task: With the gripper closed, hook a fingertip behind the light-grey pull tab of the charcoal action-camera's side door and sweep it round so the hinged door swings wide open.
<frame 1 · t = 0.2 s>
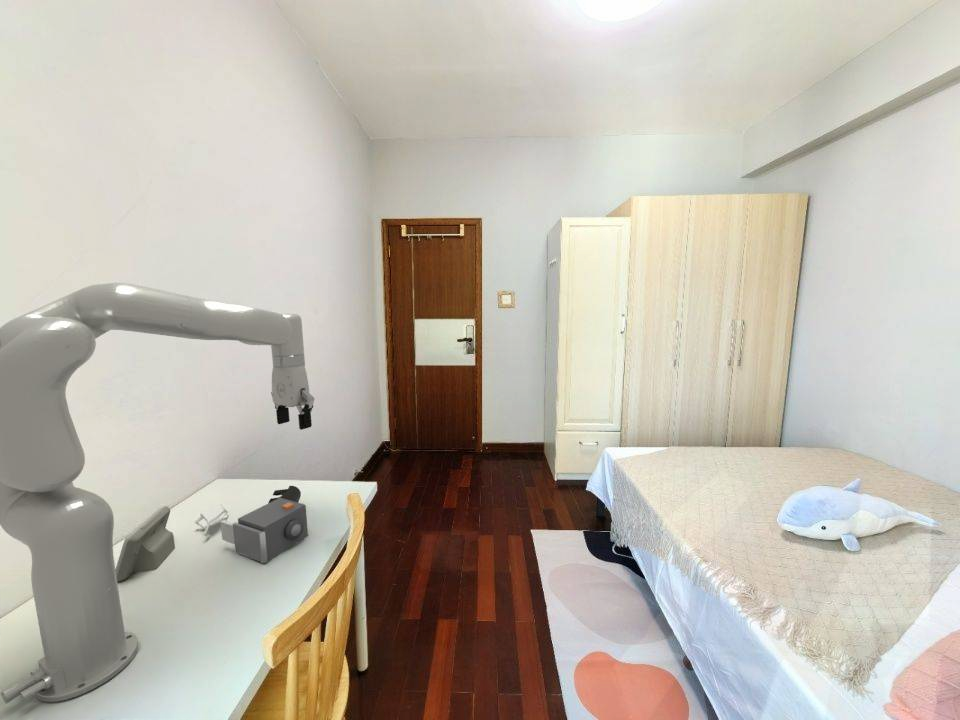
hand: (294, 425, 104), 30 cm above the table, fingers open, 9 cm apart
digital clock: (146, 562, 97), on the table
black curved claw shape: (286, 514, 118), on the table
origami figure: (212, 531, 110), on the table
camera body: (275, 543, 103), on the table
side door: (243, 540, 97), point 4 cm above the table, hinge at 0.0°
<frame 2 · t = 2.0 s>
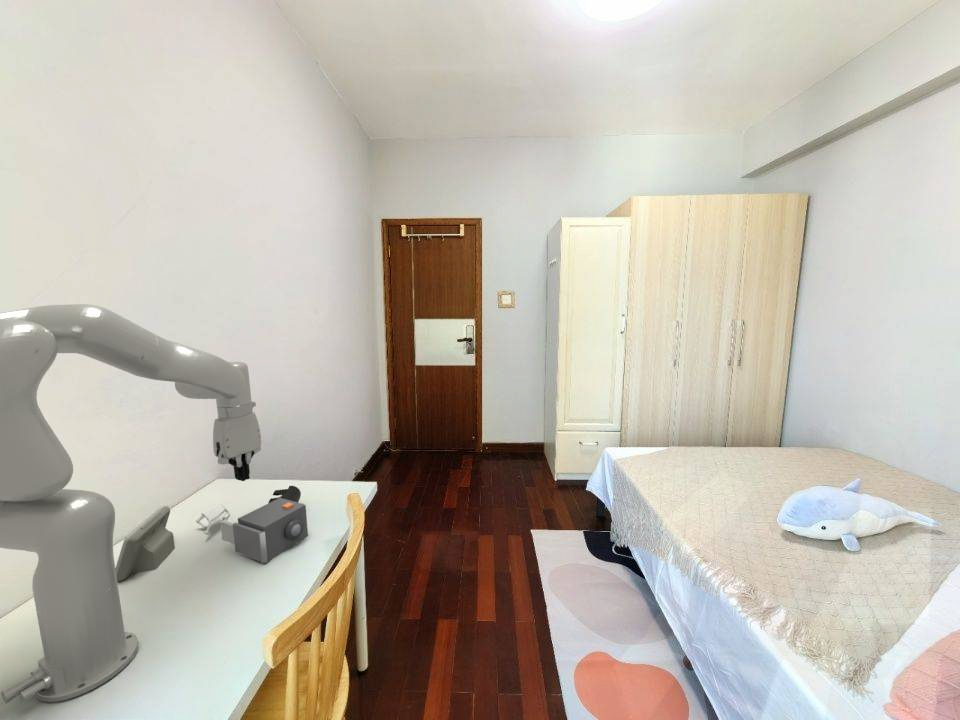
hand: (242, 479, 102), 17 cm above the table, fingers closed
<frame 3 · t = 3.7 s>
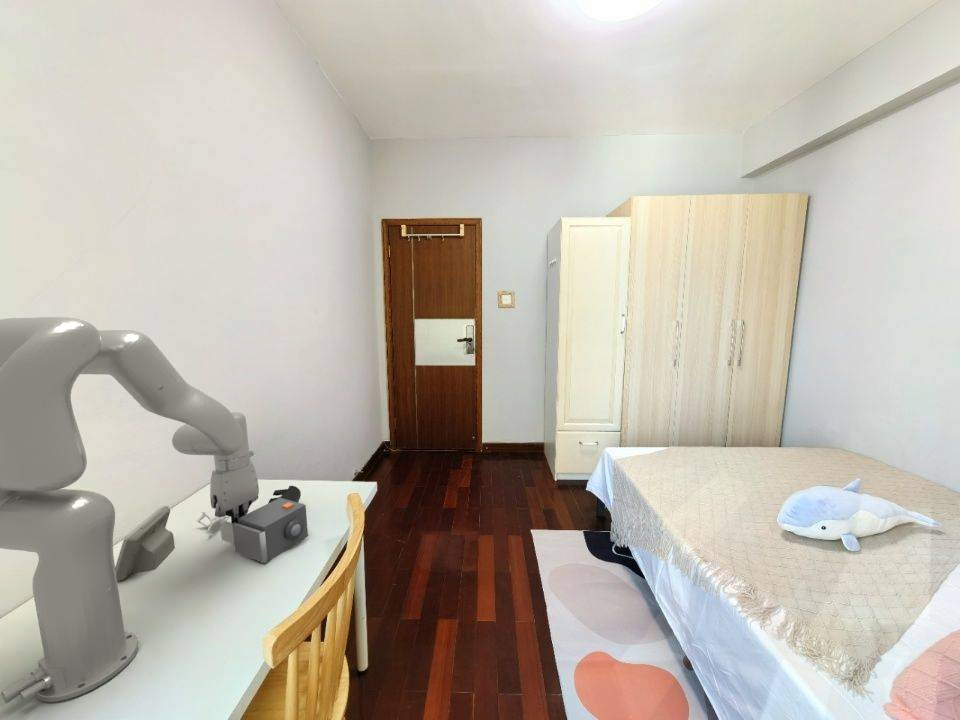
hand: (240, 529, 102), 5 cm above the table, fingers closed
side door: (243, 540, 97), point 4 cm above the table, hinge at 0.5°, touching gripper
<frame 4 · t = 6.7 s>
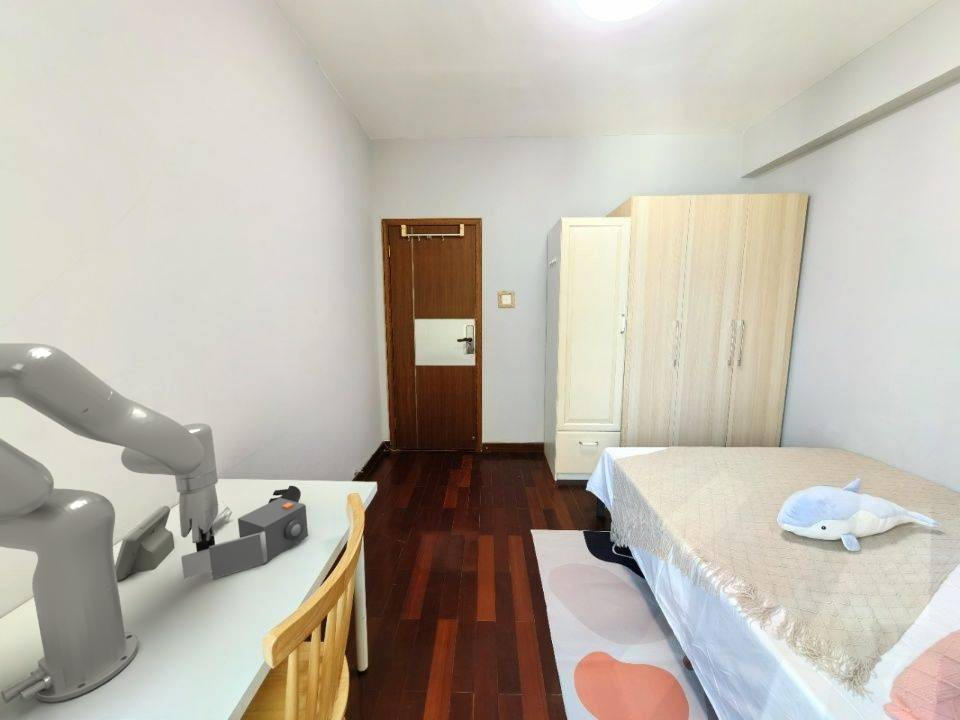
hand: (206, 554, 90), 5 cm above the table, fingers closed
side door: (226, 558, 90), point 4 cm above the table, hinge at 57.3°, touching gripper
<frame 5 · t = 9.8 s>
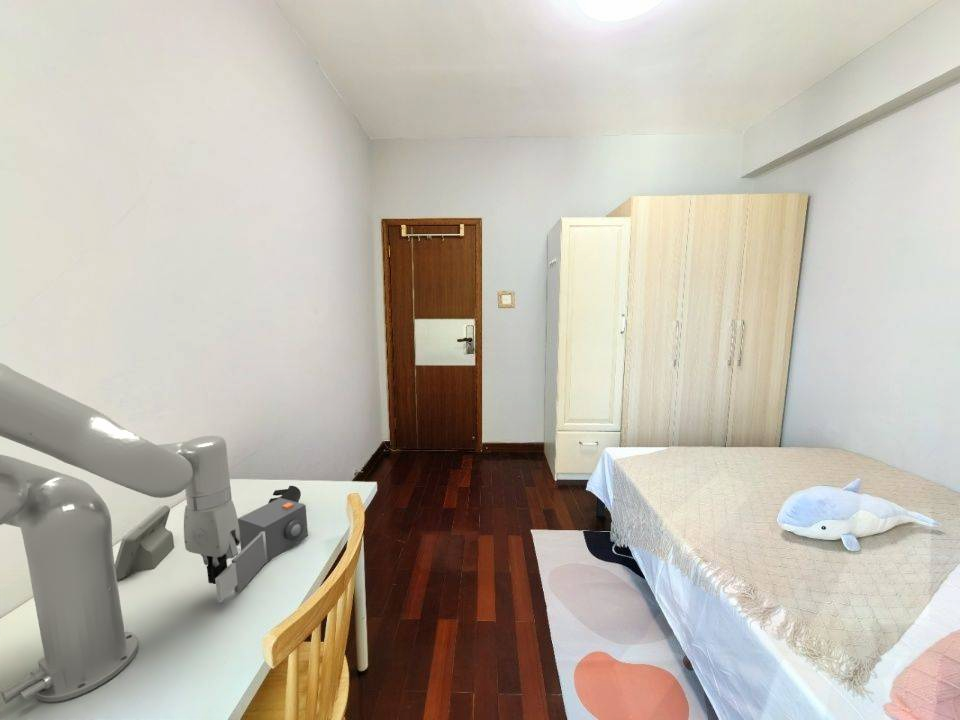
hand: (218, 579, 83), 5 cm above the table, fingers closed
side door: (243, 567, 87), point 4 cm above the table, hinge at 113.4°
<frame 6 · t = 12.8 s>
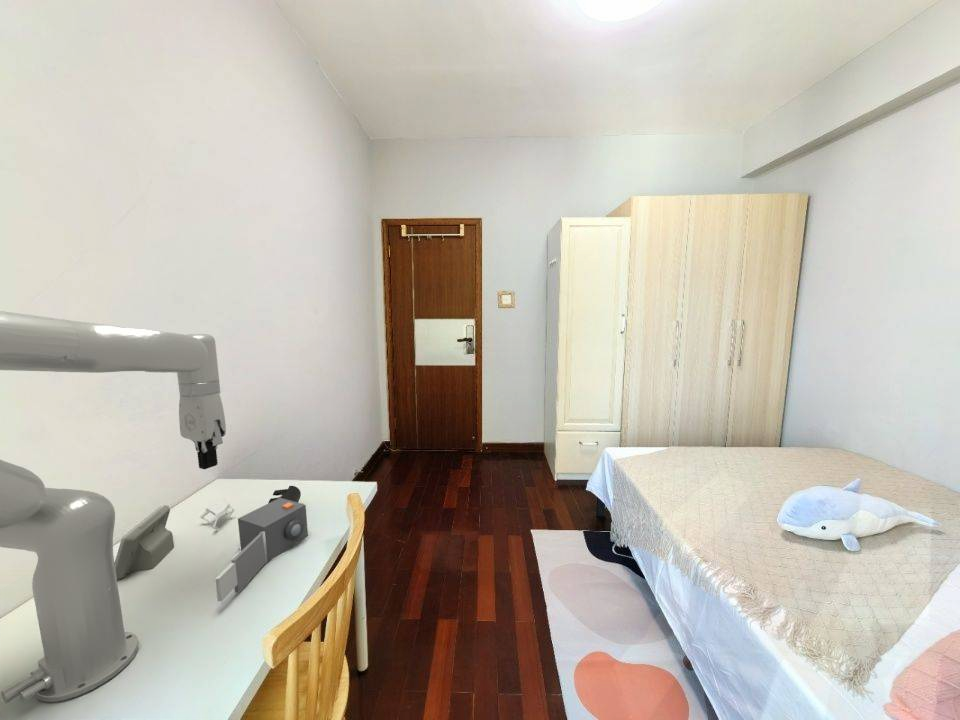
hand: (208, 466, 91), 25 cm above the table, fingers closed
at the end: side door at +113° (first picture: +0°) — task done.
